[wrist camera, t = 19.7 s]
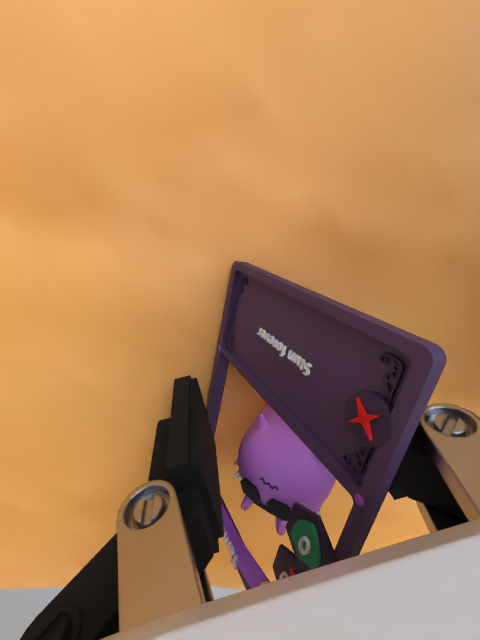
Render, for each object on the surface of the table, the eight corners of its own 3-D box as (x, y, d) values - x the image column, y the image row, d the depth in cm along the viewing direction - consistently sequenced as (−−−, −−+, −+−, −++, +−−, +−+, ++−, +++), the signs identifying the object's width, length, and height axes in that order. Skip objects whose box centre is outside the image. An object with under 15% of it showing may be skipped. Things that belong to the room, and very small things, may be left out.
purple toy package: (408, 353, 4) (263, 710, 7) (547, 342, 7) (401, 603, 9) (212, 257, 9) (177, 475, 12) (330, 272, 12) (279, 449, 15)
